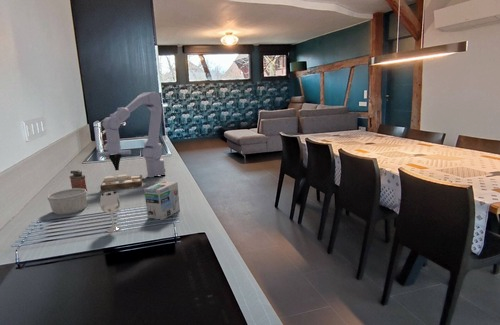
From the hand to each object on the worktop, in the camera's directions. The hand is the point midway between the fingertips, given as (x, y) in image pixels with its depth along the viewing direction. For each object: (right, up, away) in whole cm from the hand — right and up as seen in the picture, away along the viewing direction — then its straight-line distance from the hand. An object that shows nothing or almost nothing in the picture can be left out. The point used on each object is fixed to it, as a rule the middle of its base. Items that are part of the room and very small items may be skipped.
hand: (117, 170), depth 164 cm
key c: (-4, -6, 0) cm, 7 cm away
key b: (+2, -6, +2) cm, 6 cm away
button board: (+3, -7, +1) cm, 8 cm away
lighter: (-15, -10, -7) cm, 19 cm away
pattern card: (+4, -6, -4) cm, 8 cm away
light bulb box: (+34, -15, -44) cm, 58 cm away
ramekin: (-5, -15, -33) cm, 37 cm away
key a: (+8, -6, +4) cm, 11 cm away
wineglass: (+21, -18, -56) cm, 63 cm away
